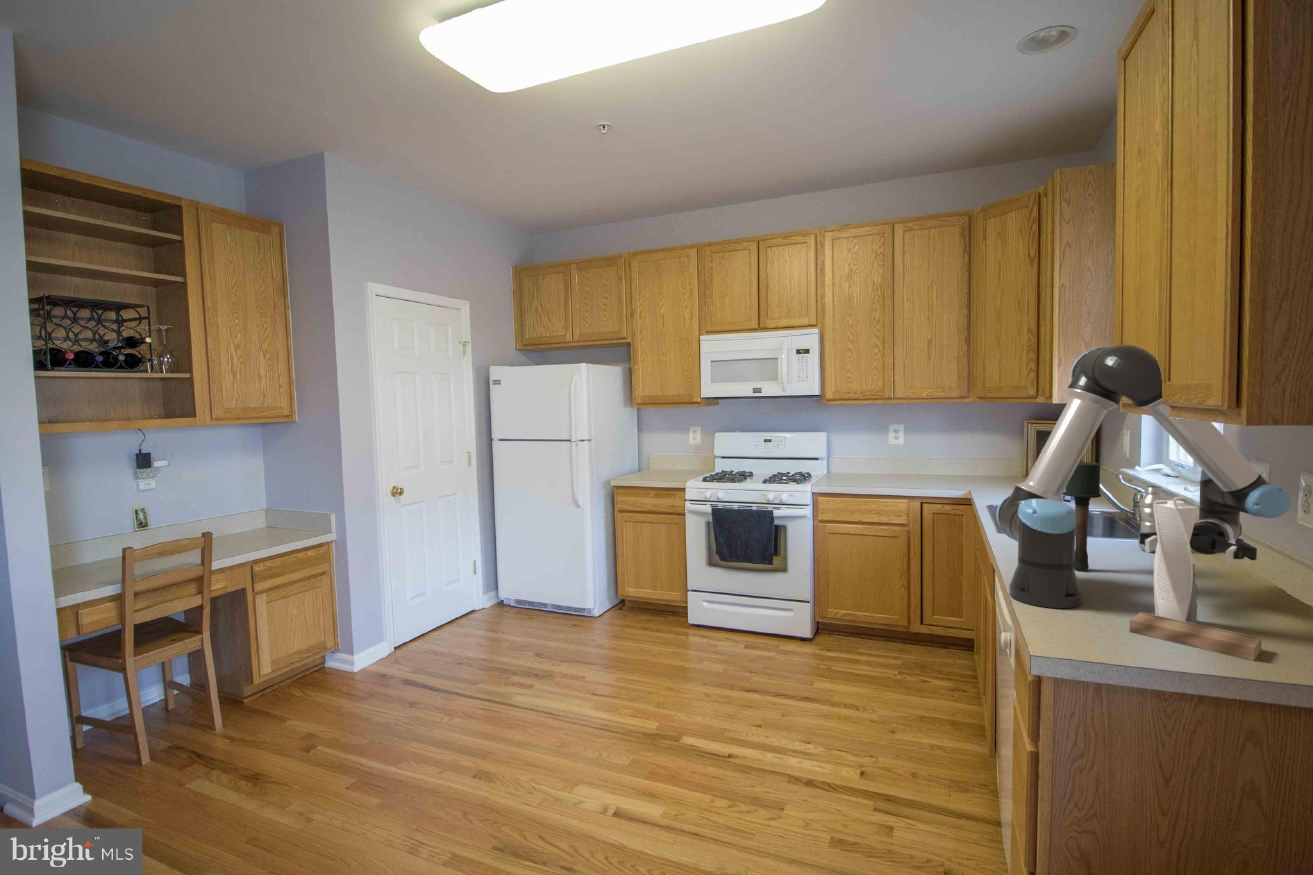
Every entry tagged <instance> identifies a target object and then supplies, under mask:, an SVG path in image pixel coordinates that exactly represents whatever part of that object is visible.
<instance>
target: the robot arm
mask: <svg viewBox="0 0 1313 875" xmlns="http://www.w3.org/2000/svg"><path fill="white" fill-rule="evenodd" d="M1156 358H1157V357H1156V356H1154V355H1153V354H1152V353H1151V352H1149V351H1148V350H1146V349H1144V348H1142V347H1140V346H1136V345H1134V344H1133V345H1132V344H1120V345H1119V344H1118V345H1115V346H1103V347H1102V346H1101V347H1096V348H1094V349H1091V350H1088V351H1086V352H1084V353H1082V354H1081V355H1080V356H1079V357H1077V358H1076V360H1075V361H1074V363H1072V364H1073V365H1072V367H1071V370H1070V378H1071V381H1070V383H1069V385H1068V387H1067V389H1066V391H1067V394H1068V397H1069V399H1068V401H1067V402H1066V405H1065V406H1064V408H1063V410H1062V411H1061V414H1060V416H1059V418H1058V420H1057V421H1056V422H1055V425H1054V428H1053V429H1052V431H1051V433H1050V435H1049V436H1048V438H1047V440H1046V443H1045V444H1044V446H1043V448H1042V450H1041V451H1040V453H1039V455H1038V458H1037V459H1036V461H1035V462H1034V465H1033V467H1032V469H1031V471H1030V472H1029V474H1028V476H1027V477H1026V480H1025V481H1023V482H1020V483H1017V484H1016V485H1015V486H1014V489H1013V490H1012V492H1011V494H1010V495H1009V496H1007V497H1005V498H1004V499H1002V500H1001V502H1000V503H999V504H998V506H997V509H996V520H997V521H996V522H997V524H998V526H999V528H1000V529H1001V531H1003V533H1004V534H1005V535H1006V536H1007V537H1009V539H1012V540H1014V541H1016V543H1017V565H1016V568H1015V570H1014V573H1013V575H1012V577H1011V578H1012V579H1011V581H1010V583H1009V589H1008V590H1009V593H1008V594H1009V596H1010V597H1011V598H1013V599H1014V600H1016V601H1019V602H1021V603H1025V604H1027V605H1031V606H1037V607H1043V608H1051V609H1052V608H1053V609H1072V608H1073V609H1074V608H1076V607H1081V606H1082V605H1083V595H1084V594H1083V592H1082V588H1081V585H1080V583H1079V581H1078V578H1077V574H1076V570H1075V569H1074V557H1075V540H1076V519H1075V508H1073V507H1072V506H1071V505H1069V504H1068V503H1066V502H1064V501H1063V499H1062V495H1063V494H1064V492H1065V490H1066V485H1067V484H1068V482H1069V480H1070V478H1071V476H1072V474H1073V473H1074V471H1075V469H1076V467H1077V465H1078V463H1079V462H1081V460H1082V458H1083V455H1084V454H1085V452H1086V451H1087V448H1088V446H1089V445H1090V443H1091V441H1092V440H1093V438H1094V435H1095V434H1096V432H1097V430H1098V429H1099V427H1100V425H1101V423H1102V422H1103V419H1104V417H1105V416H1106V414H1107V412H1108V411H1110V410H1114V409H1117V408H1118V406H1119V405H1120V403H1121V401H1122V399H1123V397H1124V398H1126V399H1127V400H1129V401H1130V402H1132V404H1133V405H1134V406H1135V407H1136V408H1138V409H1144V410H1146V411H1147V412H1148V413H1149V414H1150V416H1152V417H1153V419H1154V420H1155V421H1156V422H1157V423H1158V424H1159V425H1160V426H1161V427H1162V428H1163V429H1164V430H1165V432H1167V433H1168V435H1169V436H1170V437H1171V438H1173V439H1174V441H1175V442H1176V443H1177V444H1178V446H1180V448H1182V449H1183V450H1184V452H1186V454H1188V456H1189V457H1190V458H1191V459H1192V460H1193V461H1194V462H1195V463H1196V464H1197V465H1198V466H1199V468H1201V473H1200V480H1199V506H1198V509H1199V510H1198V521H1197V522H1195V523H1194V528H1193V531H1192V535H1191V539H1190V542H1189V543H1190V547H1191V550H1193V551H1194V552H1196V553H1198V554H1201V555H1206V556H1207V555H1216V554H1225V557H1224V558H1225V559H1224V565H1230V566H1231V564H1232V563H1233V562H1235V561H1236V560H1239V561H1241V560H1244V559H1245V558H1246V559H1248V560H1251V561H1257V558H1258V557H1257V554H1258V549H1257V547H1255V546H1253V545H1251V544H1249V543H1248V542H1245V541H1244V539H1242V538H1240V537H1241V536H1242V532H1243V525H1242V523H1241V521H1240V518H1241V513H1244V514H1248V515H1251V516H1253V517H1258V518H1265V519H1277V518H1279V517H1282V516H1283V515H1285V514H1286V513H1287V512H1289V511H1290V508H1291V506H1292V497H1291V495H1290V493H1289V492H1288V491H1287V490H1286V489H1284V488H1283V487H1281V486H1278V485H1277V484H1274V483H1269V481H1268V480H1266V478H1265V477H1263V475H1261V473H1260V472H1259V471H1258V470H1256V468H1255V467H1254V466H1253V465H1252V464H1251V463H1250V462H1249V461H1248V460H1247V459H1246V458H1245V457H1244V456H1243V455H1242V453H1240V451H1239V450H1238V449H1237V448H1236V447H1235V446H1234V445H1233V444H1232V443H1231V442H1230V440H1228V439H1227V438H1226V437H1225V435H1224V434H1223V433H1222V431H1220V430H1219V429H1218V428H1217V427H1216V426H1215V425H1214V424H1213V423H1212V422H1211V421H1210V422H1205V421H1198V420H1187V419H1176V418H1169V417H1162V416H1169V415H1168V414H1169V413H1172V411H1171V408H1170V407H1169V406H1167V405H1165V404H1163V402H1162V401H1163V397H1162V379H1161V372H1160V368H1159V365H1158V362H1157V360H1156ZM1139 536H1140V544H1143V545H1144V546H1145V550H1144V552H1145V553H1152V552H1151V551H1152V550H1154V549H1156V547H1157V542H1158V538H1157V532H1148V533H1140V532H1139Z"/></svg>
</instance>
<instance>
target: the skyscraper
mask: <svg viewBox="0 0 1313 875" xmlns="http://www.w3.org/2000/svg"><path fill="white" fill-rule="evenodd" d="M1180 499H1181V500H1188V501H1190V502H1191V503H1192V504H1193V505H1194V506H1193V505H1187V504H1185V501H1181V500H1180ZM1157 502H1166V504H1155V503H1157ZM1153 507H1154V516H1155V524H1156V531H1157V538H1158V542H1157V547H1156V552H1154V562H1153V563H1154V564H1153V594H1154V596H1153V598H1154V599H1153V600H1154V611H1155V613H1154V614H1155V615H1156V616H1161V617H1165V618H1170V619H1175V620H1180V621H1184V622H1189V623H1194V624H1199V622H1198V619H1197V618H1198V614H1197V613H1198V603H1197V597H1198V584H1197V583H1196V571H1195V566H1196V565H1195V563H1194V562H1193V554H1192V548H1191V547H1190V543H1189V542H1190V539H1191V535H1192V531H1193V528H1194V524H1195V523H1196V518H1197V514H1198V511H1199V510H1198V509H1199V506H1198V504H1197V502H1196V501H1195V500H1194V499H1193V498H1191V497H1188V496H1184V495H1183V496H1181V495H1180V496H1176V497H1174V498H1173V500H1172V499H1164V500H1156V501H1154V502H1153Z"/></svg>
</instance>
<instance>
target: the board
mask: <svg viewBox="0 0 1313 875" xmlns="http://www.w3.org/2000/svg"><path fill="white" fill-rule="evenodd" d="M1128 630H1129V632H1130V633H1133V634H1138V635H1143V636H1146V637H1151V638H1154V639H1160V640H1164V641H1166V642H1167V641H1168V642H1173V643H1175V644H1176V643H1177V644H1181V645H1183V646H1184V645H1185V646H1189V647H1193V648H1198V649H1203V650H1206V651H1210V652H1215V653H1218V654H1223V655H1228V656H1232V657H1237V658H1241V659H1244V660H1249V661H1255V659H1256V658H1257V657H1258V655H1259V654H1260V653H1261V651H1262V637H1259V636H1255V635H1250V634H1245V633H1240V632H1236V631H1232V630H1226V629H1221V628H1217V627H1213V626H1207V625H1202V624H1199V623H1198V624H1194V623H1189V622H1184V621H1180V620H1175V619H1170V618H1165V617H1161V616H1156V614H1150V613H1146V612H1141V611H1140V612H1138V613H1137V614H1136V615H1135V616H1133V617H1131V619H1129V628H1128Z"/></svg>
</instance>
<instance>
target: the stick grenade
mask: <svg viewBox="0 0 1313 875" xmlns="http://www.w3.org/2000/svg"><path fill="white" fill-rule="evenodd" d="M1100 484H1101V464H1100V463H1098V462H1090V461H1080V462H1079V463H1078V465H1077V467H1076V469H1075V471H1074V473H1073V474H1072V476H1071V478H1070V480H1069V482H1068V484H1067V485H1066V487H1065V490H1064V491H1063V494H1064V496H1067V497H1071V498H1073V499H1074V505H1075V506H1074V512H1075V519H1076V526H1075V557H1074V571H1077V572H1087V571H1088V570H1089V568H1090V565H1089V554H1088V521H1089V516H1090V515H1089V514H1090V513H1089V512H1090V500H1091V499H1096V498H1101V497H1102V493H1101V492H1100V489H1101V487H1100V486H1101V485H1100Z"/></svg>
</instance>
